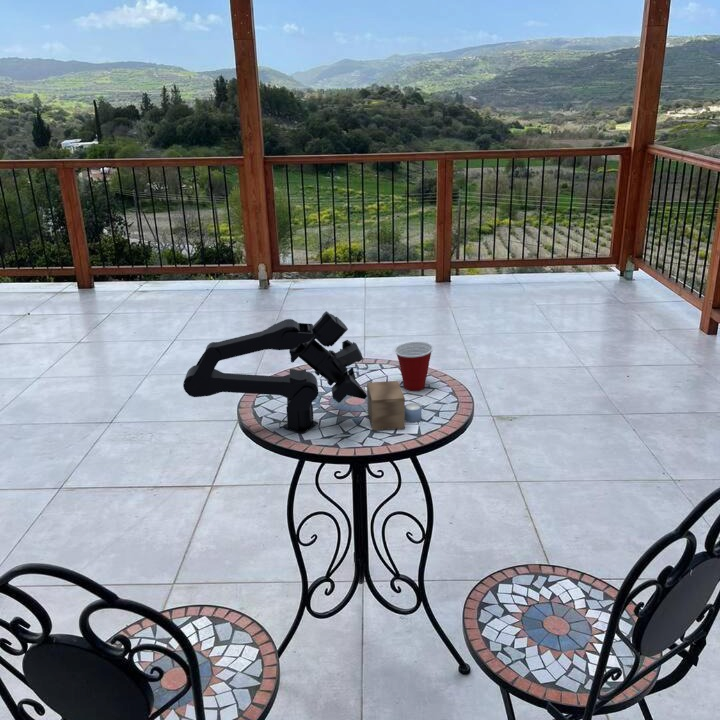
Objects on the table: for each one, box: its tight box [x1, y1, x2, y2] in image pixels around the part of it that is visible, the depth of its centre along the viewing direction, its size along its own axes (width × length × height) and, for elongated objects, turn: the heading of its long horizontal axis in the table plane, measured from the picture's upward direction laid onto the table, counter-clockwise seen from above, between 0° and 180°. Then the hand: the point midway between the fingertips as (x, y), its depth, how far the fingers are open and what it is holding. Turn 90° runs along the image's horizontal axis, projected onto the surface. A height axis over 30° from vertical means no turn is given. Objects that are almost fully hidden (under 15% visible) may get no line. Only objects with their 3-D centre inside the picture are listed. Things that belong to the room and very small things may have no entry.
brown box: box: [366, 380, 406, 431], centre depth 171 cm, size 8×11×8 cm
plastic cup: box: [393, 341, 434, 392], centre depth 190 cm, size 11×11×12 cm
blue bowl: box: [405, 403, 423, 423], centre depth 173 cm, size 4×4×3 cm
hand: (365, 397), depth 170 cm, fingers closed
